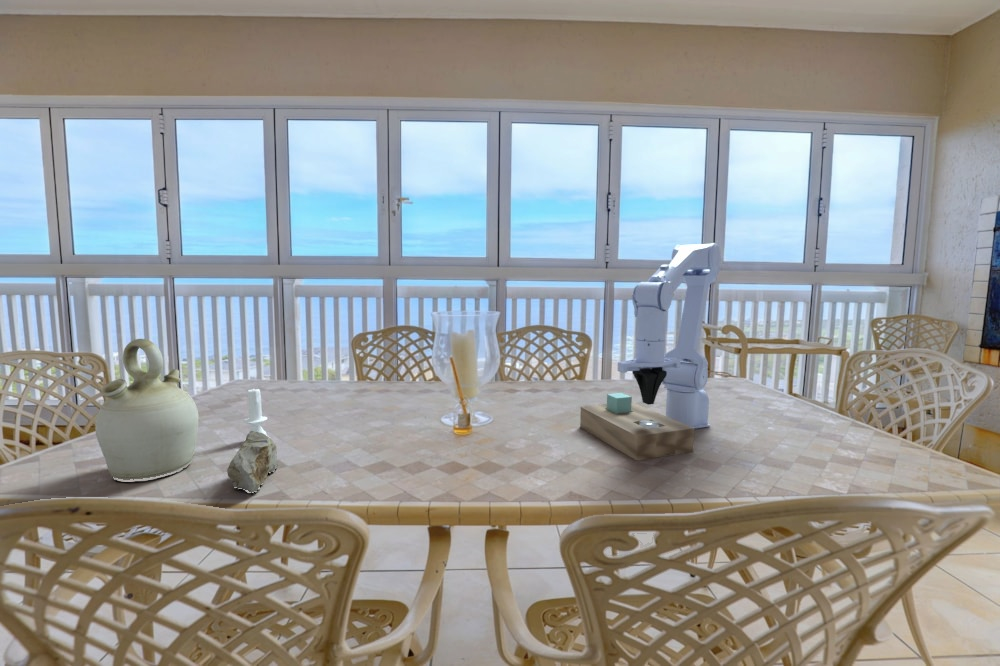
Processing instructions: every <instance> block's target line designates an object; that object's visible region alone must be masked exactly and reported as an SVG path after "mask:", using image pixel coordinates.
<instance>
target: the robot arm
mask: <svg viewBox="0 0 1000 666" xmlns="http://www.w3.org/2000/svg"><path fill="white" fill-rule="evenodd" d="M671 252H672V253H671V261H670V262H669V264H661V265H660V266H659V268H658V269H657V270H656V271H655V272H654V273H653V274H652V275H651V276H650V277H649V278H648V280H646V281H641V282H639V283H638V284H636V285H635V287H634V288H633V290H632V291H633V292H632V296H631V300H632V305H633V308H634V309H633V310H634V312H633V314H634V318H635V317H636V335H635V336H636V337H635V338H636V339H635V340H636V341H635V357H634V358H633V359H628V360H624V361H617V372H620V373H622V374H625V373H626V374H627V373H629V372H632V375H633V376H634V378H635V381H636V383H637V384H638V389H639V391H640V395H641V399H642V400H641V401H642V403H643V404H647V405H654V404H655V402H656V397H657V394H658V392H659V390H660V387H661V385H664V389H666V399H665V400H666V401H665V402H666V403H665V404H666V405H665V407H666V408H665V416H666V417H669V418H671V419H673V420H676V421H678V422H681V423H683V424H685V425H688V426H690V427H693V428H694V430H696V429H702V428H708V427H711V424H710V423H709V408H710V399H709V395H708V393H707V392H706V391H705V390H704V388H705V387H706V385H707V383H708V377H709V376H708V375H709V371H708V368H709V367H708V366H709V362H708V359H707V358H706V357H705V356H704V354H702V353H701V352H700V351H699V346H700V345H699V344H700V339H701V334H702V327H703V322H704V317H705V310H706V305H707V304H706V303H707V299H708V294H709V293H708V292H709V288H710V285H711V284H712V283H715V282H716V281H717V279H718V276H719V272H720V271H719V270H720V265H721V262H722V261H721V250H720V246H719V245H718V244H717V242H712V243H704V244H703V243H698V244H697V243H696V244H683V245H681V244H676V246H674V247H673V249H672V251H671ZM682 283H684V284H685V285H686V291H685V292H686V293H685V297H684V303H683V309H682V315H681V320H680V326H679V331H678V336H677V342H676V346H675V347H674V348H673V349H671V350H669V351H668V352H666V350H665V347H666V326H667V325H666V322H667V310H668V309H670V307H671V305H672V302H673V298H674V293H675V291H676V290H677V289H678V288H679V286H681V284H682ZM665 352H666V353H665Z"/></svg>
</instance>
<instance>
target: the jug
mask: <svg viewBox="0 0 1000 666" xmlns="http://www.w3.org/2000/svg"><path fill="white" fill-rule="evenodd" d="M140 349H141V350H142V351H143V352H144V353H145V355H146V356H147V357H146V358H147V361H148V365H149V366H148V370H147V372H146V371H144V370H143V369H142V368H141V367H140V364H139V362H138V352H139V350H140ZM122 363H123V367H124V370H125V371H126V373H127V374H129V376H130V377H131V378H132V379H133V381H132V383H131V384H130V385H128V386H127V383H128V382H127V381H126V380H125V379H121V378H120V379H119V378H118V379H116V380H112V381H110V382H108V383H107V384H105V385H104V386H103V387H102V388H101V390H100V394H101V396H103V397H105V398H107V399H105V401H104V402H103V403H102V405H101V406H100V408H99V410H98V412H97V416H96V418H95V419H96V420H95V424H94V425H95V426H94V427H95V430H94V431H95V436H96V440H97V442H98V443H97V444H98V445H99V447H100V450H101V452H102V455H103V457H104V459H105V464H106V467H107V470H108V472H109V473H110V474H111V477H112V476H113V477H114V478H118V479H123V480H130V479H133V480H134V479H143V478H150V477H156V476H160V475H164V474H167V473H171V472H174V471H177V470H179V469H181V468H183V467H185V466H186V465H188V464H189V463H190V462H191V461H192V462H193V457H194V453H195V449H196V443H197V439H198V438H197V437H198V432H199V431H198V429H199V421H200V419H199V417H200V415H199V411H198V406H197V404H196V403H195V400H194V399H193V398H192V396H191V395H190V394H189V393H188V392H187V391H186V390H184V389H182V388H180V387H179V386H178V385H179V384H180V382H181V380H182V379H181V378H180V370H179V369H176V368H173V369H172V370H170V372H168V373H167V374H165V375H163V380H162V381H161V380H160V379H159V376H160V375H161V373H162V371H163V368H164V358H163V354H162V352H161V350H160V348H159V347H158V346H157V345H156V344H155V342H152V341H151V340H149V339H145V338H136V339H133V340H131V341H130V342H128V343H127V345H125V347H124V349H123V353H122Z"/></svg>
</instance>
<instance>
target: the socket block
mask: <svg viewBox="0 0 1000 666" xmlns="http://www.w3.org/2000/svg"><path fill="white" fill-rule="evenodd" d="M579 415H580V416H579V417H580V422H579V423H580V425H579V427H580V428H581V429H583V430H584V431H586V432H588V433H589V434H591V435H593V436H594V437H596V438H598V439H600V440H601V441H603V442H604V443H606V444H608V445H609V446H611V447H613V448H614V449H616V450H617V451H619V452H622V453H623V454H624V455H626V456H628V457H629V458H632V459H633V460H635V461H636V462H637V461H644V460H648V459H655V458H661V457H666V456H673V455H678V454H679V455H680V454H685V453H687V454H688V453H691V452H694V441H695V440H694V439H695V438H694V437H695V429H694V428H693V427H690V426H688V425H685V424H683V423H681V422H678V421H676V420H673V419H671V418H669V417H666V415H665V414H664V415H663V414H661V413H659V412H656V411H653V410H651V409H649V408H647V407H644V406H641V405H640V404H637V403H635V402H632V403H631V412H629V413H620V414H615V413H613V412H611V411H609V410H607V403H606V404H604V403H603V404H595V405H587V406H580V414H579ZM643 420H649V421H655V422H657V423H659V427H656V428H648V429H646V428H644V427H642V426H640V425H639V422H640V421H643Z"/></svg>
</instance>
